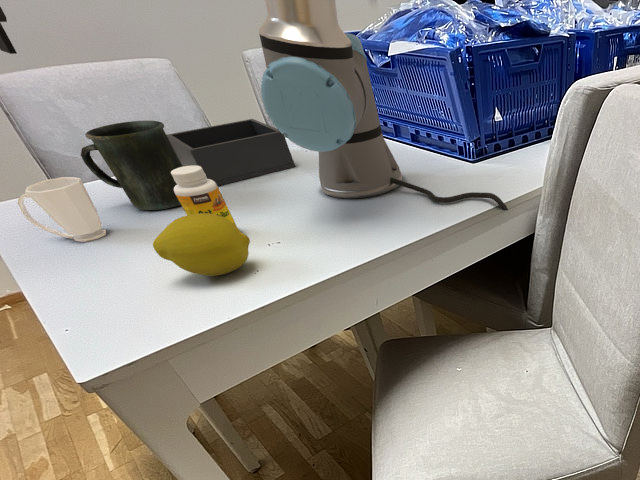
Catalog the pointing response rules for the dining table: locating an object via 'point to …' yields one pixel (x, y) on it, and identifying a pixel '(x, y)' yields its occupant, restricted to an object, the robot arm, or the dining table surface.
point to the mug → (136, 162)
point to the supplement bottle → (199, 192)
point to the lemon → (203, 244)
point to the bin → (233, 150)
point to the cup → (65, 208)
